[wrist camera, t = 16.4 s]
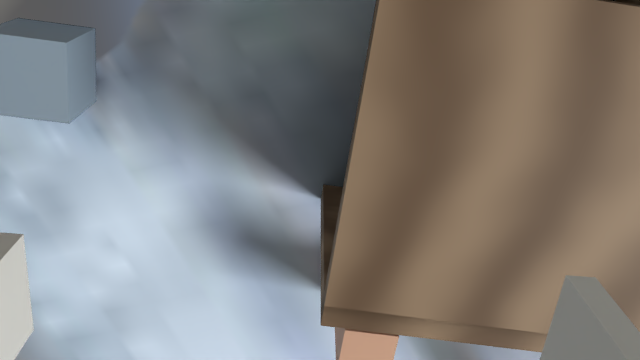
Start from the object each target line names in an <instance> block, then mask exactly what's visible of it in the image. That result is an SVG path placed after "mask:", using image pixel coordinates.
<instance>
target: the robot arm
mask: <svg viewBox="0 0 640 360" xmlns="http://www.w3.org/2000/svg"><path fill="white" fill-rule="evenodd" d="M33 330H34V328H33V319H32V310H31V300H30V291H29V282H28V272H27V263H26V254H25V244H24V235H23V234H13V233H0V360H14V359H15V358H16V356H17V355H18V353H19V352H20V350H21V349H22V347H23V346H24V344H25V342H26V341H27V339H28V338H29V336H30V335H31V333H32V332H33ZM540 360H640V332H639V331H638V330H637V328H636V327H635V326H634V325H633V323H632V322H631V321H630V320H629V318H628V317H627V316H626V315H625V313H624V312H623V311H622V310H621V308H620V307H619V306H618V305H617V303H616V302H615V301H614V300H613V298H612V297H611V296H610V295H609V293H608V292H607V291H606V290H605V288H604V287H603V286H602V285H601V283H600V282H599V281H598V280H597V279H596V277H583V276H570V275H566V276H565V279H564V283H563V286H562V289H561V292H560V296H559V299H558V302H557V305H556V309H555V312H554V315H553V318H552V322H551V325H550V328H549V331H548V335H547V338H546V341H545V344H544V348H543V351H542V354H541V357H540Z"/></svg>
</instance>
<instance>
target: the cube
mask: <svg viewBox="0 0 640 360" xmlns="http://www.w3.org/2000/svg"><path fill="white" fill-rule="evenodd" d="M95 102H96V29H95V28H91V27H83V26H76V25H68V24H61V23H53V22H45V21H38V20H31V19H23V18H17V19H14V20H11V21H8V22H5V23H2V24H0V115H4V116H12V117H20V118H28V119H36V120H44V121H52V122H60V123H68V124H69V123H71V122H72V121H73V120H74V119H75V118H77V117H78V116H79V115H80V114H81V113H83V112H84V111H85V110H86V109H87V108H89V107H90V106H91V105H92V104H93V103H95Z"/></svg>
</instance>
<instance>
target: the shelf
mask: <svg viewBox="0 0 640 360" xmlns="http://www.w3.org/2000/svg"><path fill="white" fill-rule="evenodd" d="M566 275H570V276H583V277H596V279H597V280H598V281H599V282H600V283H601V285H602V286H603V287H604V288H605V290H606V291H607V292H608V293H609V295H610V296H611V297H612V298H613V300H614V301H615V302H616V303H617V305H618V306H619V307H620V308H621V310H622V311H623V312H624V313H625V315H626V316H627V317H628V318H629V320H630V321H631V322H632V323H633V325H634V326H635V327H636V328H637V330H638V331H639V332H640V0H617V1H610V0H376V5H375V11H374V16H373V22H372V28H371V33H370V39H369V44H368V50H367V56H366V61H365V67H364V72H363V78H362V84H361V89H360V95H359V100H358V106H357V112H356V117H355V123H354V128H353V134H352V140H351V145H350V151H349V156H348V162H347V168H346V173H345V179H344V184H343V187H338V186H330V185H323V189H322V196H321V325H322V326H330V327H338V328H346V329H355V330H363V331H371V332H379V333H387V334H396V335H404V336H412V337H420V338H429V339H437V340H445V341H453V342H461V343H470V344H478V345H486V346H494V347H503V348H511V349H519V350H527V351H535V352H542V351H543V348H544V344H545V341H546V338H547V335H548V331H549V328H550V325H551V322H552V318H553V315H554V312H555V309H556V305H557V302H558V299H559V296H560V292H561V289H562V286H563V283H564V279H565V276H566Z"/></svg>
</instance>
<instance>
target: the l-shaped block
mask: <svg viewBox="0 0 640 360" xmlns="http://www.w3.org/2000/svg"><path fill="white" fill-rule="evenodd" d="M398 339H399V335H396V334H387V333H379V332H371V331H363V330H355V329H346V328H338V327H335V345H336V360H393V359H394V355H395V351H396V347H397V343H398Z"/></svg>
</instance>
